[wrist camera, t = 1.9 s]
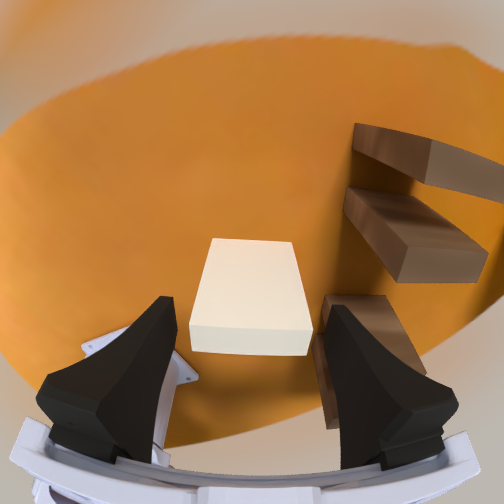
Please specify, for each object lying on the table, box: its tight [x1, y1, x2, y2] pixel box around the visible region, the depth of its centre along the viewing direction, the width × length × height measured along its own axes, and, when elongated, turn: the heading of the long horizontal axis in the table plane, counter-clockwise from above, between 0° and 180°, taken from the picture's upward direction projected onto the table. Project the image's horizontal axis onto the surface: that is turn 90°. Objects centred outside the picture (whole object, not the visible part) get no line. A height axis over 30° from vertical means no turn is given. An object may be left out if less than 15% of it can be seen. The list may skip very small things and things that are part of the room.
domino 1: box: [189, 238, 313, 356], centre depth 15 cm, size 2×5×8 cm, turn 87°
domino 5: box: [321, 295, 427, 376], centre depth 17 cm, size 2×5×8 cm, turn 87°
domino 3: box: [352, 123, 504, 204], centre depth 11 cm, size 2×5×8 cm, turn 87°
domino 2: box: [311, 334, 339, 429], centre depth 19 cm, size 2×5×8 cm, turn 87°
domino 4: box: [343, 187, 489, 283], centre depth 13 cm, size 2×5×8 cm, turn 87°
